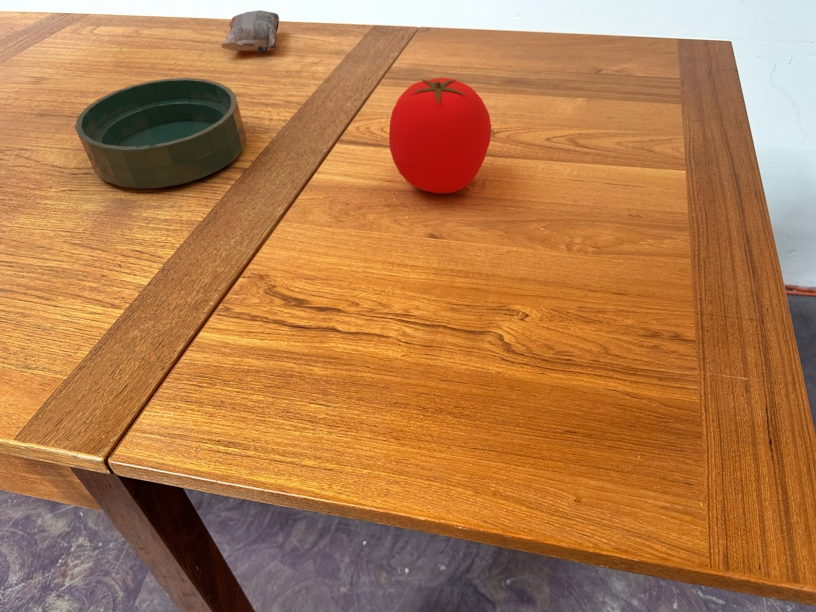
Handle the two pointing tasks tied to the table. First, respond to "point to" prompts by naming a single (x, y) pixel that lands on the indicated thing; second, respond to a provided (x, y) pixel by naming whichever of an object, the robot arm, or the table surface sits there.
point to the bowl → (162, 132)
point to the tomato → (439, 135)
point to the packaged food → (252, 31)
